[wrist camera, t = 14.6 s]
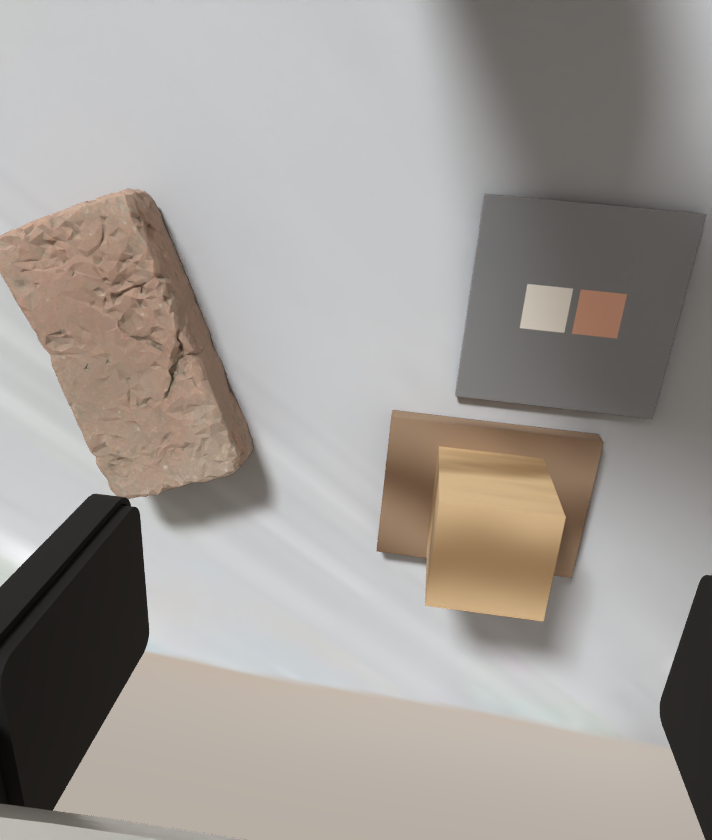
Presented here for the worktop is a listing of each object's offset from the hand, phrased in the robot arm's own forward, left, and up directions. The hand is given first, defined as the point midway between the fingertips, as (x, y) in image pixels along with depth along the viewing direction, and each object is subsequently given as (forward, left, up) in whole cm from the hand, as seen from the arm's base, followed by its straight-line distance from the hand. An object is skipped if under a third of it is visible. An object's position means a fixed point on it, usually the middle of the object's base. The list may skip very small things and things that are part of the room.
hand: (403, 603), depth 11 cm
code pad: (-1, +8, -28) cm, 29 cm away
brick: (+4, -16, -28) cm, 33 cm away
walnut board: (+11, +5, -28) cm, 30 cm away
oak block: (+11, +5, -26) cm, 29 cm away
